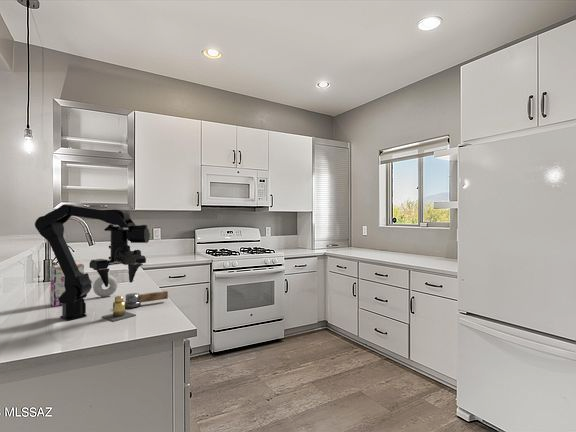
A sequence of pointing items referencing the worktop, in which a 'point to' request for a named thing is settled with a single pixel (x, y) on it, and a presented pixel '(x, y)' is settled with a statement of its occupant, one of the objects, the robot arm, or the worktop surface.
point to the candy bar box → (58, 283)
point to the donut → (105, 292)
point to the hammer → (143, 298)
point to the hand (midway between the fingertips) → (119, 284)
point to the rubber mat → (110, 317)
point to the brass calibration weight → (118, 307)
